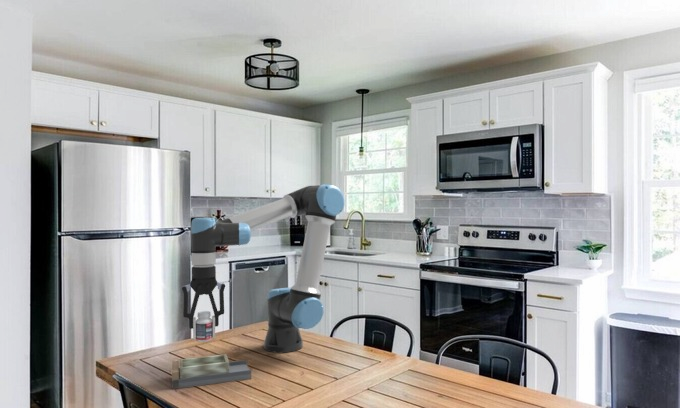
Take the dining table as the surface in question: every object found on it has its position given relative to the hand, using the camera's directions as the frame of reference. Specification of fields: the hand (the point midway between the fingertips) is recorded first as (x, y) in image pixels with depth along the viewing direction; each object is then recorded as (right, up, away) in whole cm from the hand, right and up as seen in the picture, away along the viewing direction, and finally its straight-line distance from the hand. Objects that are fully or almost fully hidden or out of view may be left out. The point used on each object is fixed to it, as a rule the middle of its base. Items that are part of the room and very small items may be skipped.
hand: (204, 337), depth 152 cm
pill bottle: (0, -1, 0) cm, 1 cm away
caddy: (0, -12, 0) cm, 12 cm away
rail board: (+2, -13, +1) cm, 13 cm away
